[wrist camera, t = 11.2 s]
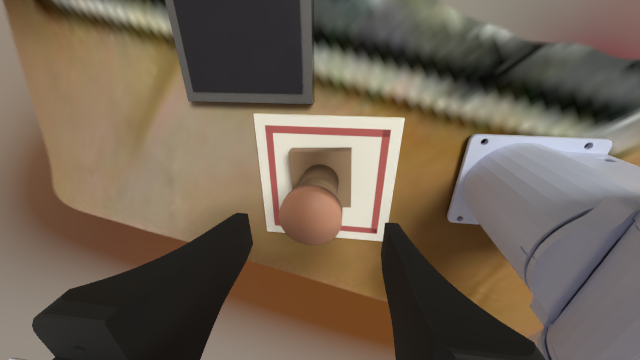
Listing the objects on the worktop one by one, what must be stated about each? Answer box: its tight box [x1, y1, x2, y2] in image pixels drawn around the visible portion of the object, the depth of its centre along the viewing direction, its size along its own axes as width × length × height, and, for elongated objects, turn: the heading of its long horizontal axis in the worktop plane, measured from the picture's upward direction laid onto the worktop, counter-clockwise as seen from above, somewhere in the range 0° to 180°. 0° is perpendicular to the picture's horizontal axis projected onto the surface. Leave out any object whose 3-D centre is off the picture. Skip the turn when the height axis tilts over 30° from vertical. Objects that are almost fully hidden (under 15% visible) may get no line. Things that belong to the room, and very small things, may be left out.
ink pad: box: [165, 0, 314, 104], centre depth 17 cm, size 10×10×1 cm
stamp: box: [279, 147, 352, 245], centre depth 18 cm, size 5×5×7 cm
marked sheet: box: [254, 113, 405, 241], centre depth 22 cm, size 12×12×1 cm
